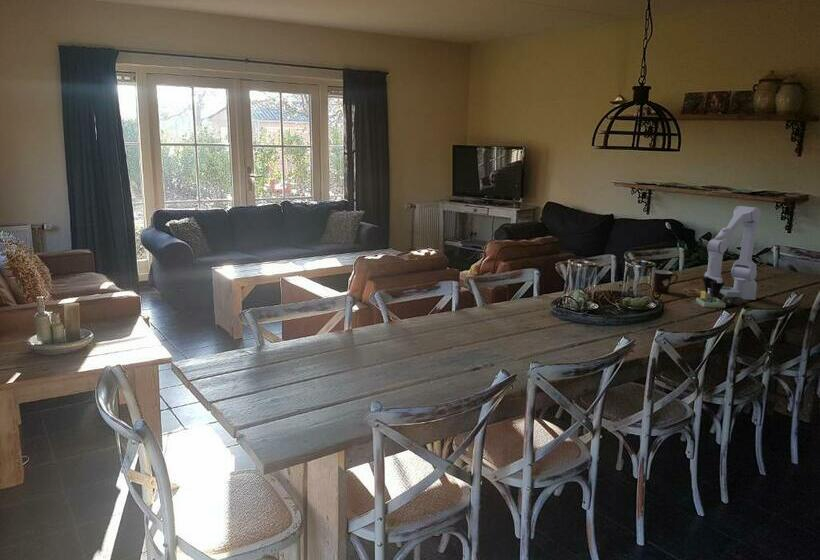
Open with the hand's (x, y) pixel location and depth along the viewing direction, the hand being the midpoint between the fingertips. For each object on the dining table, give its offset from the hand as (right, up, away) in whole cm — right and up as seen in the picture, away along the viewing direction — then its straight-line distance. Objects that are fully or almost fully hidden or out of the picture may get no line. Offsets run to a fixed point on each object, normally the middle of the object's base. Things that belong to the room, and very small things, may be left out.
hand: (711, 295), depth 299 cm
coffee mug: (-12, +1, +24) cm, 27 cm away
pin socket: (0, 0, +20) cm, 20 cm away
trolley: (+10, -4, +5) cm, 12 cm away
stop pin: (0, -4, +1) cm, 4 cm away
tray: (0, -5, +1) cm, 5 cm away
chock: (+3, -3, +9) cm, 10 cm away
